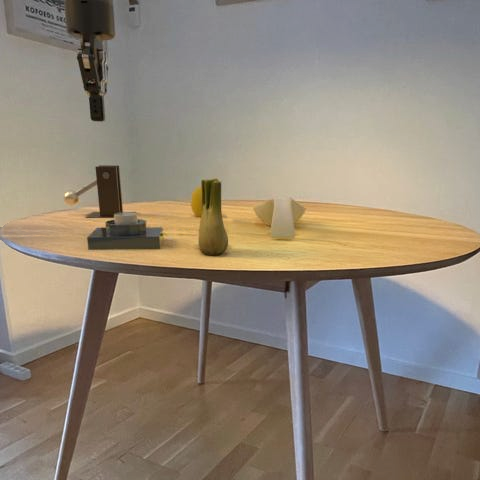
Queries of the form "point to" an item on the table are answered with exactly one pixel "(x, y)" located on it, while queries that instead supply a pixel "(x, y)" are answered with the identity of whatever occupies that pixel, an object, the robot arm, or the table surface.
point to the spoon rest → (280, 216)
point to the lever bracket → (108, 191)
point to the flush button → (125, 218)
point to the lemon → (197, 201)
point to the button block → (125, 236)
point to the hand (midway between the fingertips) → (98, 121)
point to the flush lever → (77, 193)
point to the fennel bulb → (212, 219)
